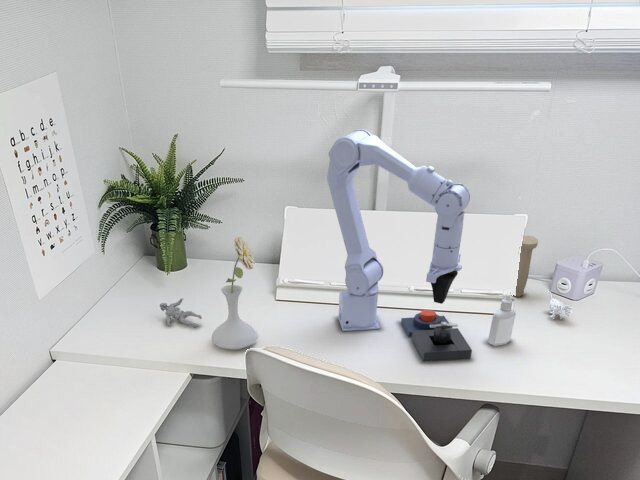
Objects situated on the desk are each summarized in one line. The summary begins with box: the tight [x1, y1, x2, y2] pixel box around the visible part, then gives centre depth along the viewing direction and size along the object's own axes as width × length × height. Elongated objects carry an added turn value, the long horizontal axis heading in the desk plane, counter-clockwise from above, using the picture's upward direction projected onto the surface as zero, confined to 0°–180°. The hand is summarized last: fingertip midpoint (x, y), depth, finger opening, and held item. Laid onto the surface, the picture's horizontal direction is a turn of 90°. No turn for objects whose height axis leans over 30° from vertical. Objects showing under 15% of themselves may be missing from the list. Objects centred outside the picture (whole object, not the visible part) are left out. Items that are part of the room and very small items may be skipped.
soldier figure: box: [159, 297, 203, 328], centre depth 174 cm, size 8×5×12 cm
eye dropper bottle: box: [487, 293, 517, 347], centre depth 160 cm, size 4×6×12 cm
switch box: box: [400, 312, 450, 338], centre depth 169 cm, size 11×8×3 cm
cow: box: [548, 290, 573, 320], centre depth 173 cm, size 12×5×5 cm, turn 179°
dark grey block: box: [430, 322, 458, 346], centre depth 159 cm, size 6×4×7 cm, turn 95°
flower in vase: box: [210, 235, 259, 350], centre depth 158 cm, size 13×11×25 cm
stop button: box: [420, 309, 437, 322], centre depth 167 cm, size 4×4×2 cm
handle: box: [516, 235, 539, 298], centre depth 180 cm, size 5×6×15 cm
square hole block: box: [411, 327, 473, 363], centre depth 160 cm, size 11×11×2 cm
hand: (439, 301), depth 159 cm, fingers closed
